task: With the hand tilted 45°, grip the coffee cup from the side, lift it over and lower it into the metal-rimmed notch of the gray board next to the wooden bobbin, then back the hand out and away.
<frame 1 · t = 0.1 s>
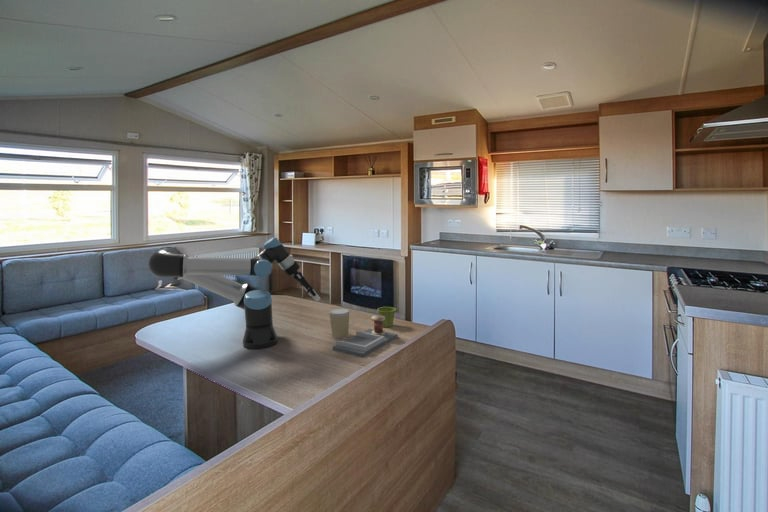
hand: (315, 297, 207), 15 cm above the table, tool tilted 35°, fingers open, 13 cm apart
wooden bobbin: (378, 333, 193), resting on gray board
plant pot: (386, 326, 210), on the table
gray board: (366, 343, 185), on the table
coffee cup: (340, 336, 196), on the table
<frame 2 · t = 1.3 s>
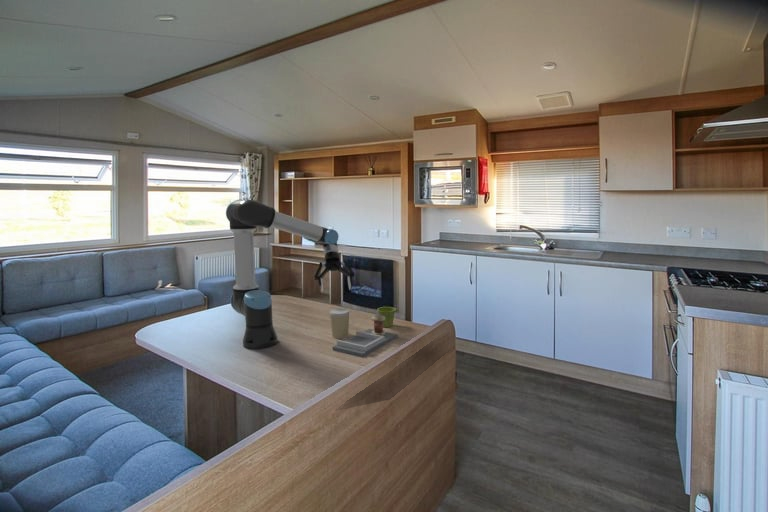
hand: (336, 289, 203), 20 cm above the table, tool tilted 45°, fingers open, 13 cm apart
nothing on the table moved.
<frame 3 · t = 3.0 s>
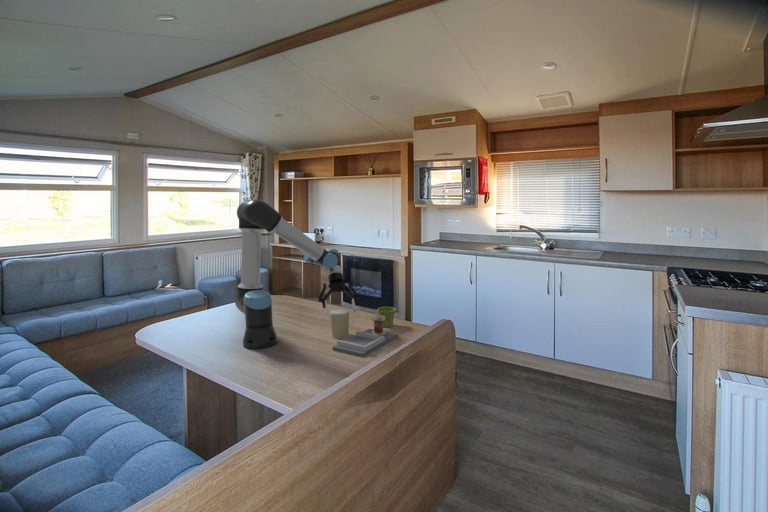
hand: (340, 312, 200), 10 cm above the table, tool tilted 45°, fingers open, 13 cm apart
nothing on the table moved.
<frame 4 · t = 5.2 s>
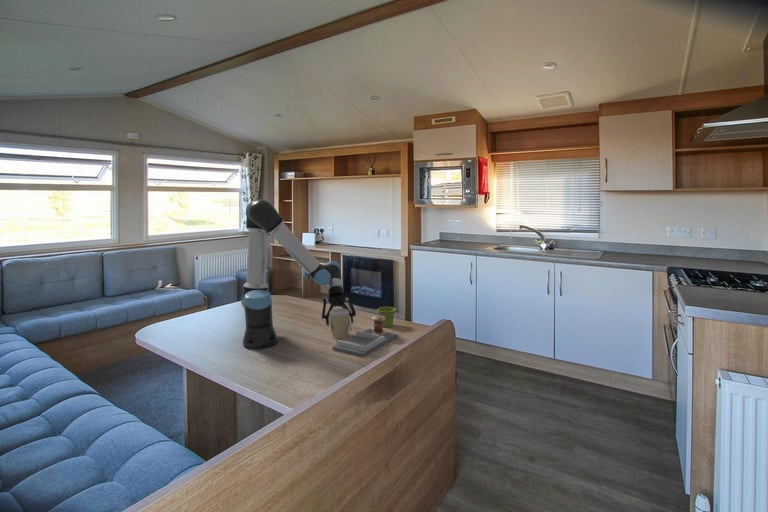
hand: (340, 330, 192), 4 cm above the table, tool tilted 45°, fingers closed on coffee cup, 9 cm apart
coffee cup: (340, 336, 196), on the table, touching gripper
everything else where it was.
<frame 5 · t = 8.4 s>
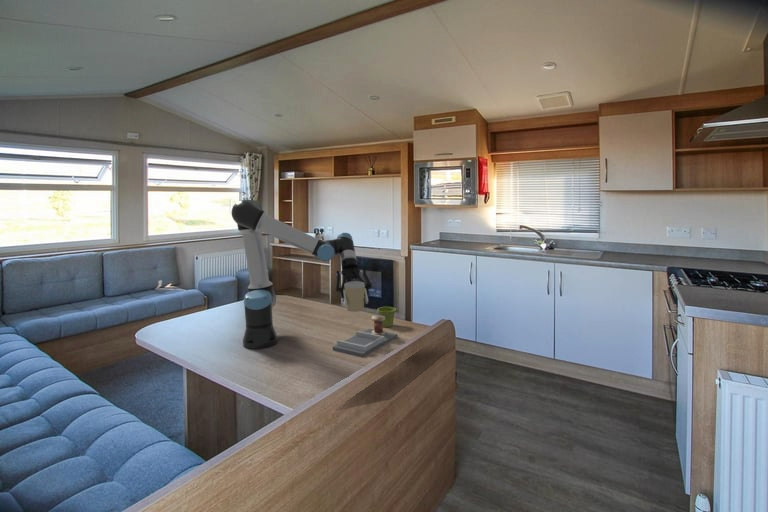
hand: (356, 303, 182), 19 cm above the table, tool tilted 45°, fingers closed on coffee cup, 9 cm apart
coffee cup: (355, 309, 186), point 15 cm above the table, touching gripper
everything else where it was.
when the fingers open (6 cm above the table, at t = 11.8 s): coffee cup stays where it is, resting on gray board.
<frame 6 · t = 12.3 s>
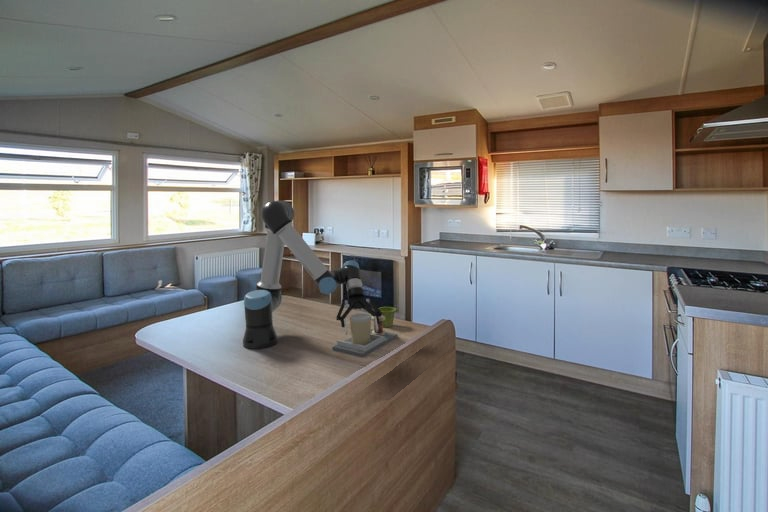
hand: (361, 332, 178), 7 cm above the table, tool tilted 45°, fingers open, 13 cm apart
coffee cup: (361, 343, 181), point 1 cm above the table, touching gray board
everything else where it was.
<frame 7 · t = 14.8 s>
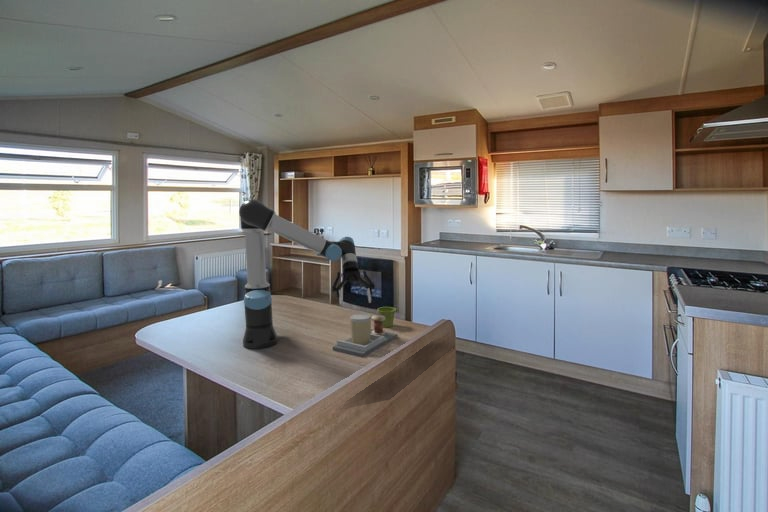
hand: (355, 302, 189), 17 cm above the table, tool tilted 45°, fingers open, 13 cm apart
nothing on the table moved.
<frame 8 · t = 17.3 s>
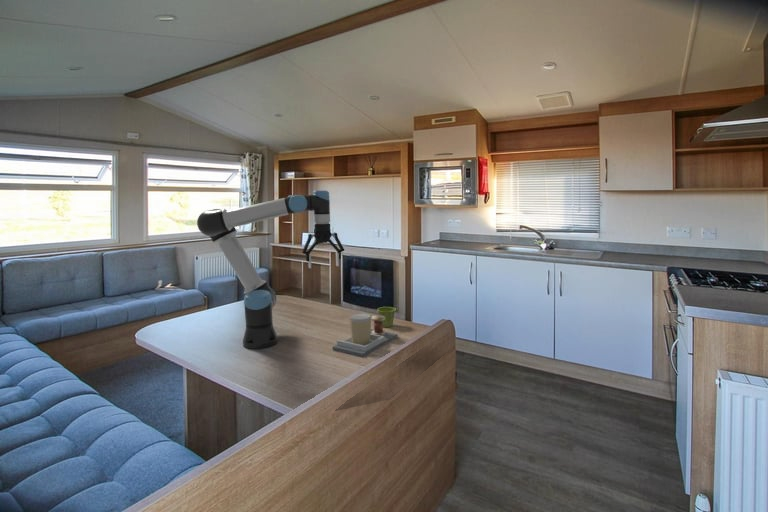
hand: (324, 267, 200), 32 cm above the table, tool pointing down, fingers open, 13 cm apart
nothing on the table moved.
at the end: coffee cup inside the target area on the gray board (0.1 cm from its centre), point 1.3 cm above the gray board's base; coffee cup tilted 0°; the gripper is holding nothing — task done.
